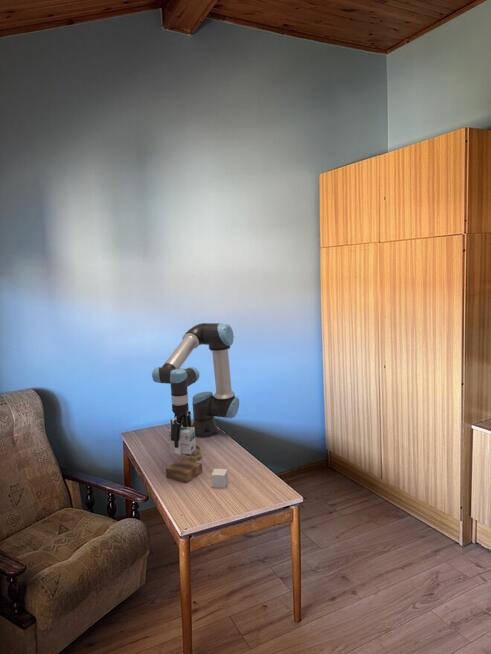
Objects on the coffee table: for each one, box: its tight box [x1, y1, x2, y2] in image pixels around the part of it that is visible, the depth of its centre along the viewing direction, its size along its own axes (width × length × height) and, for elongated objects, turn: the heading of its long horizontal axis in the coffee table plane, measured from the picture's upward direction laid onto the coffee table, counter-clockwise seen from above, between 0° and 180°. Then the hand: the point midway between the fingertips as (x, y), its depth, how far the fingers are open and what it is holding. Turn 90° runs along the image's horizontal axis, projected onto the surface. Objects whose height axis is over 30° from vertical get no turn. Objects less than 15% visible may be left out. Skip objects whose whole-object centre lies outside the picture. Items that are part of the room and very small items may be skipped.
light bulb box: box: [168, 426, 196, 454], centre depth 232 cm, size 11×7×11 cm, turn 74°
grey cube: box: [210, 468, 229, 489], centre depth 225 cm, size 6×6×6 cm
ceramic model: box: [180, 441, 203, 462], centre depth 256 cm, size 14×11×10 cm
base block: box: [165, 458, 203, 484], centre depth 235 cm, size 12×12×5 cm
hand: (182, 450), depth 233 cm, fingers closed on light bulb box, 7 cm apart
